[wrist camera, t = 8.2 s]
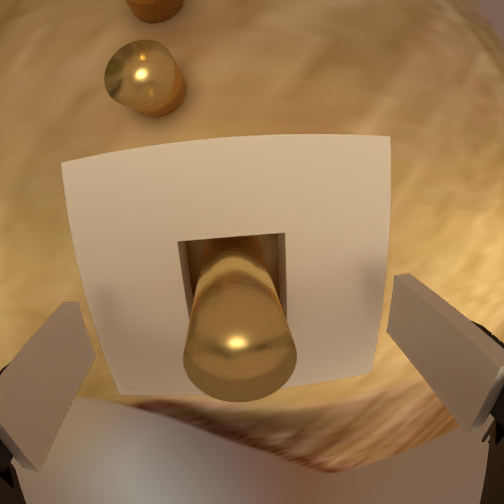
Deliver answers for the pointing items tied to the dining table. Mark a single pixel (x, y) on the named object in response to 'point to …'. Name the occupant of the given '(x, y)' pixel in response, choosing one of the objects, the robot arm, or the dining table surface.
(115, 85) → the pin short
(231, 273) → the pin long
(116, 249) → the white block with hole
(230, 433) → the dining table surface
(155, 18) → the pin medium
